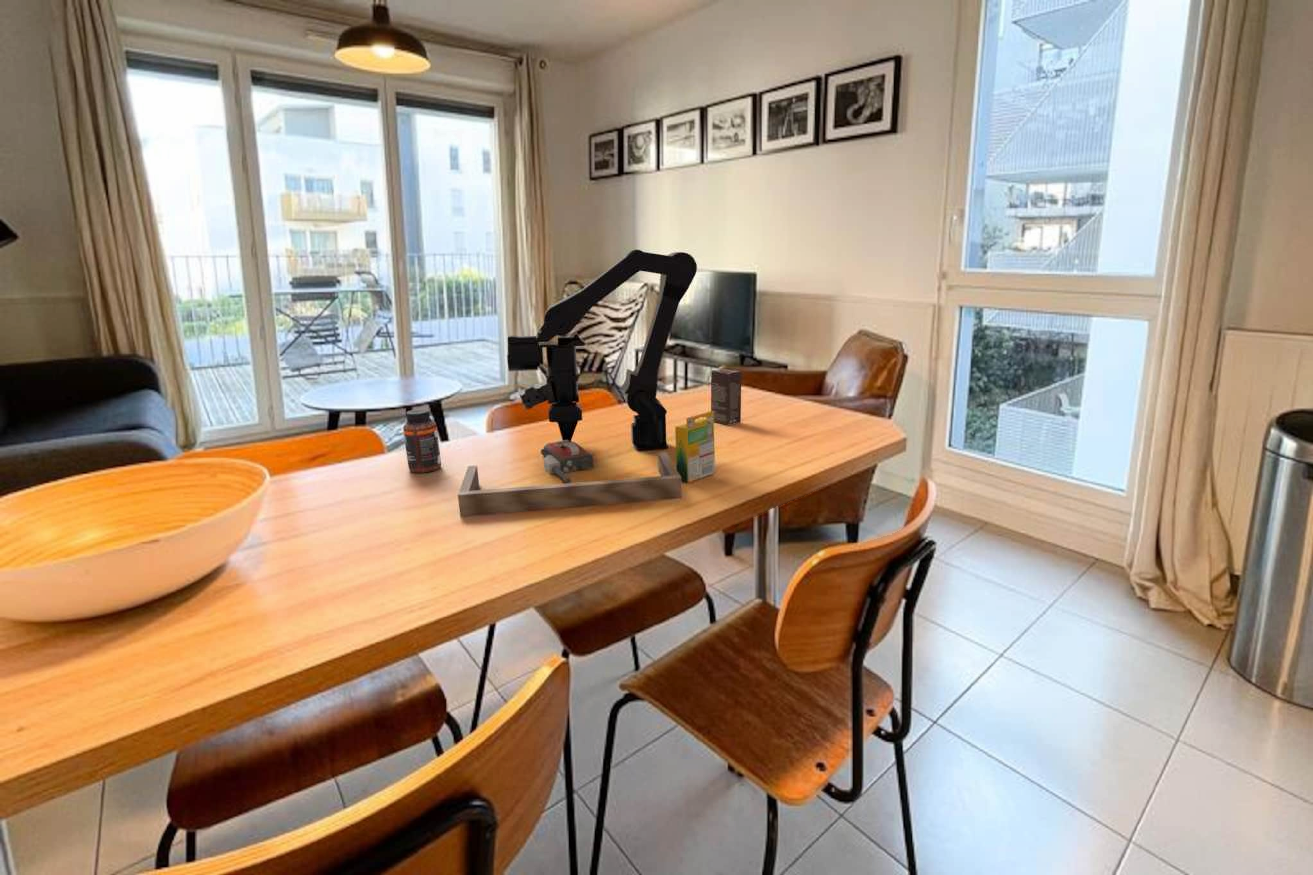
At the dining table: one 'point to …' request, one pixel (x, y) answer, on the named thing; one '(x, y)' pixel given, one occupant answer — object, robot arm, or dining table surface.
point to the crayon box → (695, 447)
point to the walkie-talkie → (565, 458)
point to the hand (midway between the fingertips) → (566, 445)
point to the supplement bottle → (421, 442)
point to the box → (726, 396)
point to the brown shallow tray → (569, 492)
